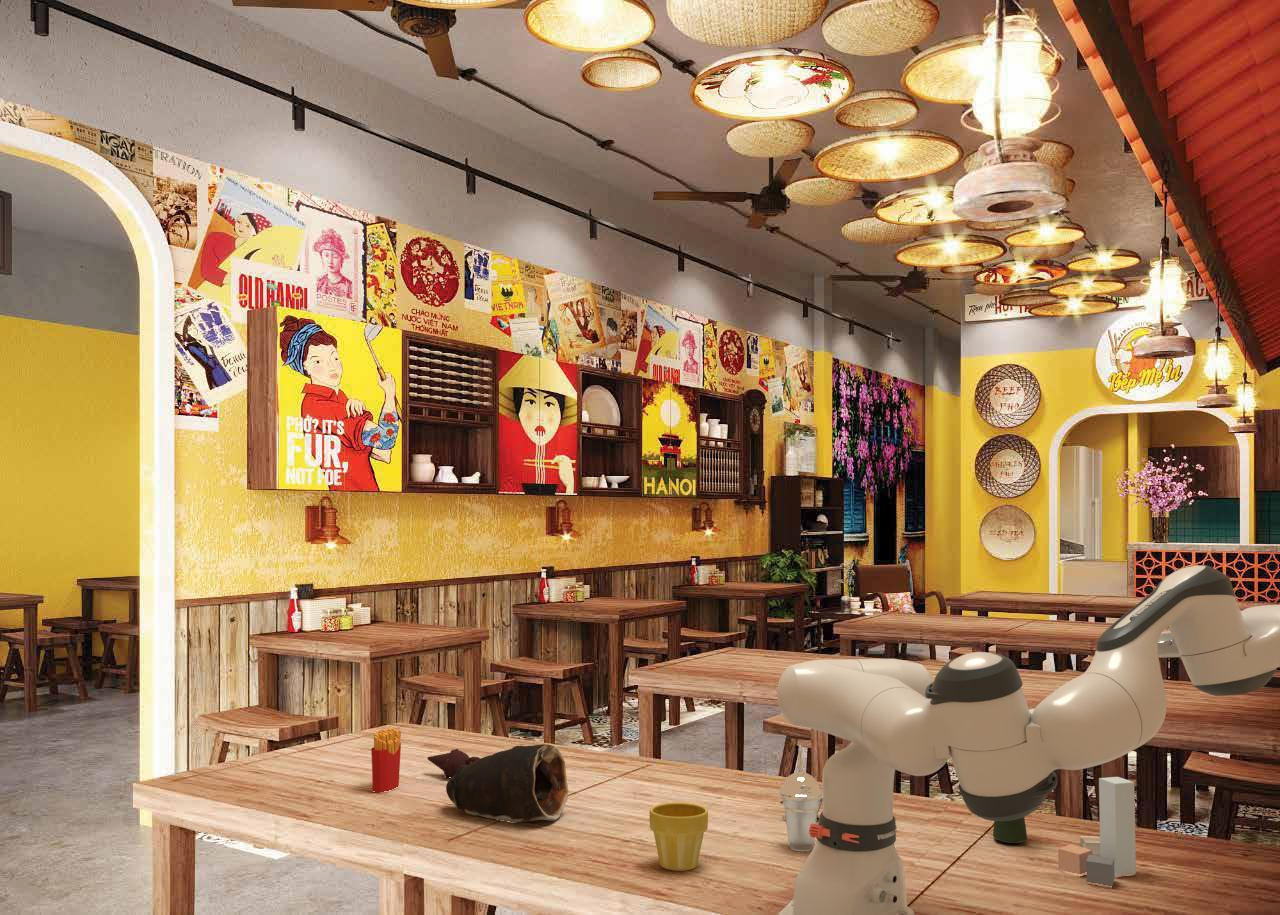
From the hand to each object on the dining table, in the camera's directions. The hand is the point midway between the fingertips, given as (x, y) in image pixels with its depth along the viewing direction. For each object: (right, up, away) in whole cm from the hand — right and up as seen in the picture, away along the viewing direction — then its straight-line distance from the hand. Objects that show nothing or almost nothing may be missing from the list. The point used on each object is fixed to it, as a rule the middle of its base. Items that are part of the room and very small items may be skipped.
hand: (1158, 647), depth 175 cm
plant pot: (-79, -41, +14) cm, 90 cm away
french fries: (-143, -44, +65) cm, 163 cm away
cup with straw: (-55, -42, +23) cm, 73 cm away
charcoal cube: (-7, -41, +5) cm, 42 cm away
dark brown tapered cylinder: (-114, -43, +44) cm, 130 cm away
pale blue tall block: (-2, -41, +10) cm, 42 cm away
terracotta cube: (-9, -41, +11) cm, 44 cm away
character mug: (-15, -42, +28) cm, 53 cm away
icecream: (-129, -44, +75) cm, 156 cm away
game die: (-52, -43, +42) cm, 79 cm away
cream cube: (-3, -42, +16) cm, 45 cm away
